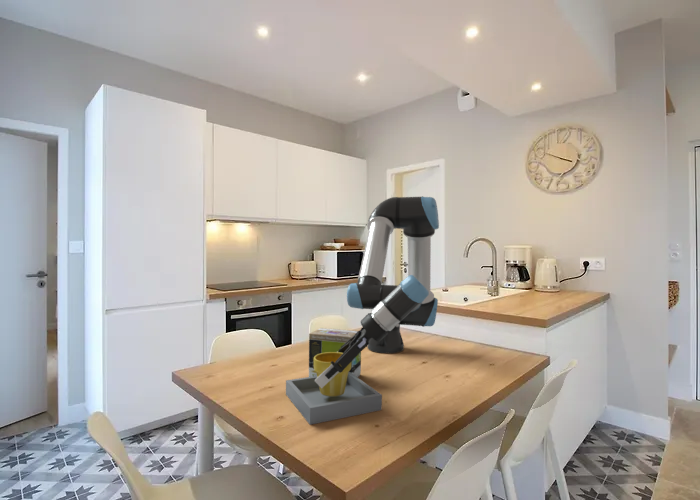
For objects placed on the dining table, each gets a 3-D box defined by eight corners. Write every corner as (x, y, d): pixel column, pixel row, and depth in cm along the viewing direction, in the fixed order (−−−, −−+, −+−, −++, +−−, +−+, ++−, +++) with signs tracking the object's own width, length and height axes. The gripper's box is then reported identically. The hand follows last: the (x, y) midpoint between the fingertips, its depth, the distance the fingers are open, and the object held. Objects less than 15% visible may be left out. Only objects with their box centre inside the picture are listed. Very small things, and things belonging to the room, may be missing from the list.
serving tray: (285, 394, 108) (286, 380, 108) (348, 384, 117) (348, 371, 117) (309, 424, 90) (310, 408, 90) (381, 409, 99) (381, 394, 99)
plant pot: (313, 385, 108) (313, 351, 108) (349, 384, 109) (349, 351, 109) (312, 400, 98) (313, 362, 97) (352, 399, 98) (353, 362, 98)
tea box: (361, 374, 126) (362, 330, 125) (351, 384, 116) (352, 337, 116) (320, 368, 131) (320, 326, 130) (307, 378, 121) (308, 332, 121)
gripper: (390, 343, 90) (324, 404, 92) (388, 323, 113) (335, 372, 115) (368, 320, 91) (303, 381, 92) (371, 305, 113) (319, 354, 115)
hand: (321, 376), depth 103 cm, fingers closed on plant pot, 10 cm apart
